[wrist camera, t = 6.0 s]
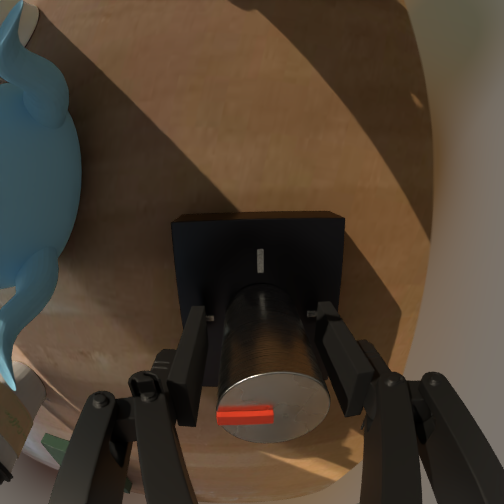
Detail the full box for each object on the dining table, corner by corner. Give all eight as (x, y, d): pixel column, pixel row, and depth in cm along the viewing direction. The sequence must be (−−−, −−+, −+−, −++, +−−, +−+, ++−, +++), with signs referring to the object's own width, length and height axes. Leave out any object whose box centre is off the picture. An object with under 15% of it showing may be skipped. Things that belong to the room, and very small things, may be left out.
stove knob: (297, 281, 16) (341, 371, 8) (294, 343, 18) (324, 442, 10) (222, 285, 16) (208, 380, 8) (227, 346, 17) (221, 450, 9)
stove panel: (318, 357, 22) (328, 381, 19) (197, 362, 21) (192, 387, 18) (330, 211, 18) (346, 218, 15) (181, 214, 18) (169, 222, 15)
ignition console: (132, 483, 28) (127, 502, 25) (72, 466, 28) (65, 482, 24) (109, 452, 26) (101, 474, 22) (45, 432, 25) (36, 449, 22)
